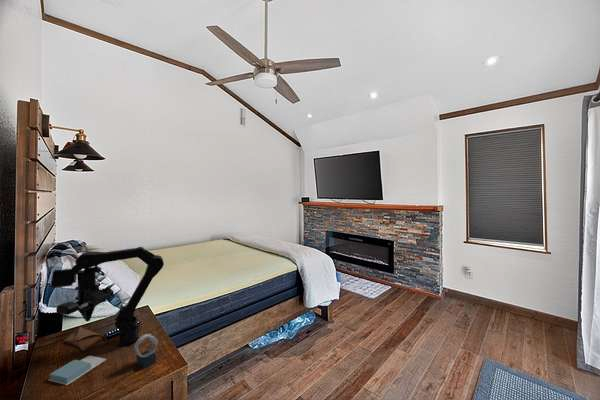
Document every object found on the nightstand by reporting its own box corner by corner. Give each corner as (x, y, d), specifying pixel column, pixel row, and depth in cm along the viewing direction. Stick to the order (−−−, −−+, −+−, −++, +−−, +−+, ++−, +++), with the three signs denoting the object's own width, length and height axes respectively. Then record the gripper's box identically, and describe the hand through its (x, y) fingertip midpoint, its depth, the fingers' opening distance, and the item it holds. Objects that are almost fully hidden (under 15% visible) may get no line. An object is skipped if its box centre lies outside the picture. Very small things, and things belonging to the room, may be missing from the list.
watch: (160, 360, 103) (160, 332, 102) (139, 371, 96) (138, 342, 96) (153, 355, 106) (152, 328, 105) (131, 366, 99) (131, 337, 99)
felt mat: (89, 356, 105) (89, 355, 105) (106, 359, 102) (106, 359, 102) (47, 380, 91) (47, 379, 91) (67, 385, 89) (67, 385, 89)
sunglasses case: (59, 342, 114) (68, 325, 117) (75, 342, 120) (84, 326, 123) (83, 352, 107) (92, 334, 110) (100, 352, 113) (108, 335, 116)
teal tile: (74, 359, 99) (50, 373, 91) (91, 363, 97) (67, 378, 89) (74, 364, 99) (50, 379, 91) (91, 368, 97) (67, 383, 89)
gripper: (77, 294, 95) (78, 336, 96) (123, 277, 113) (124, 313, 114) (54, 291, 98) (56, 331, 99) (103, 275, 116) (104, 309, 117)
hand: (87, 320), depth 107 cm, fingers closed
